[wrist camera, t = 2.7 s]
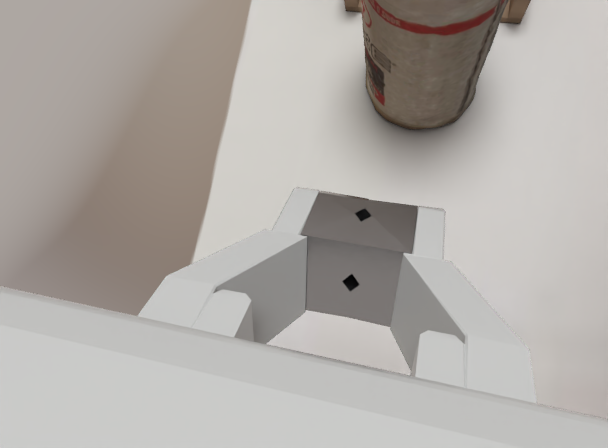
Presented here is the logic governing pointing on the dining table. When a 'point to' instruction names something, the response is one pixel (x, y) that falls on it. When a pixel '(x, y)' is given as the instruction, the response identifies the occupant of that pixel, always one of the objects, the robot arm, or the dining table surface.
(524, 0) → the walnut trough
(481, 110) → the dining table surface
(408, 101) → the spray can
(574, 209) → the dining table surface
